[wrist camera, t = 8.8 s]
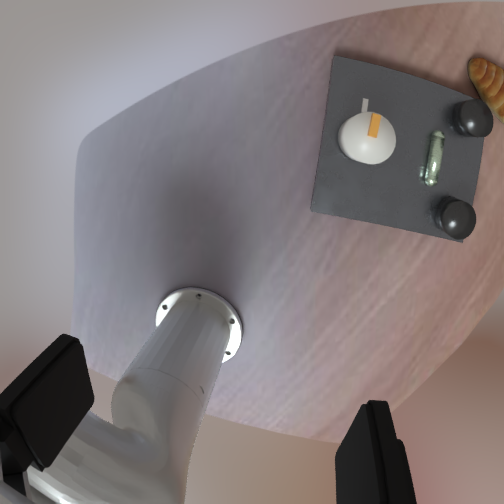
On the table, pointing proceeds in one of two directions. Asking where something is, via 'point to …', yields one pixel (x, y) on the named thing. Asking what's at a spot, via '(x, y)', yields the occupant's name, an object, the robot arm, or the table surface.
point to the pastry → (488, 84)
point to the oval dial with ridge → (367, 138)
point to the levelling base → (403, 152)
